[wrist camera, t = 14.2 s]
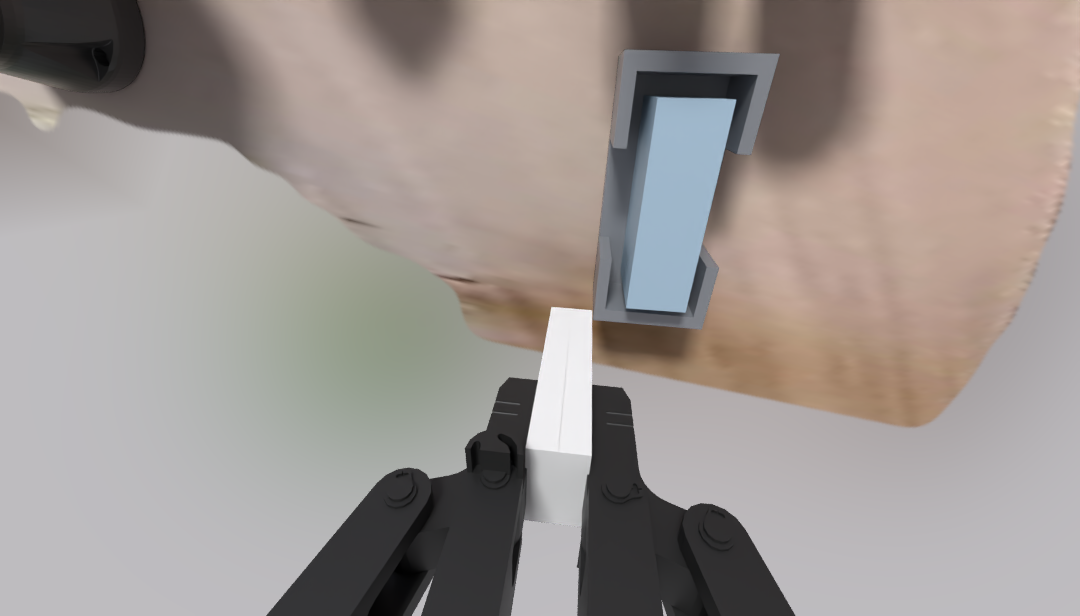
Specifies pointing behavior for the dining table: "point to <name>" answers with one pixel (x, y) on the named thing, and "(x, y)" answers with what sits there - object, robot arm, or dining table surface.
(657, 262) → the light blue block
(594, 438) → the robot arm
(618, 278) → the endcap rail
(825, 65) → the dining table surface
